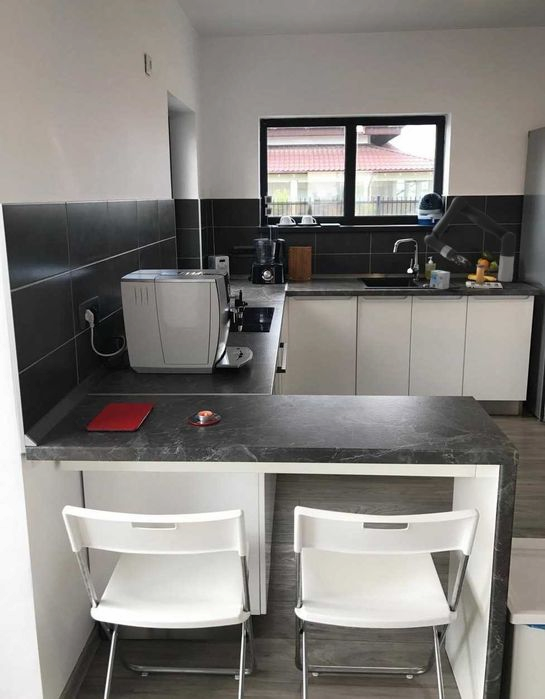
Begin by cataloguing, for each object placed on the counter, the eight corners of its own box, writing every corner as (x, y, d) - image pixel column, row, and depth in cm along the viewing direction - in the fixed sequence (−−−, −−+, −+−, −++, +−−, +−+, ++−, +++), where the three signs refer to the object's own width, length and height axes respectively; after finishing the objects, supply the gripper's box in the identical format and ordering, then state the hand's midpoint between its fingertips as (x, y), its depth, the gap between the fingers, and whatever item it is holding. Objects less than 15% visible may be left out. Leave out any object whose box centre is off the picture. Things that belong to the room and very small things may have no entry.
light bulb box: (429, 287, 447) (430, 270, 444) (436, 285, 451) (437, 269, 448) (442, 289, 439) (443, 272, 436) (449, 288, 443) (450, 272, 440)
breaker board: (499, 285, 455) (500, 281, 455) (502, 289, 442) (502, 285, 442) (466, 283, 460) (466, 279, 459) (467, 287, 447) (467, 283, 446)
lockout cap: (483, 282, 455) (484, 264, 452) (483, 283, 450) (485, 265, 447) (475, 282, 456) (477, 264, 453) (476, 283, 451) (477, 265, 448)
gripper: (447, 249, 462) (466, 262, 455) (456, 247, 473) (475, 259, 466) (441, 258, 466) (461, 271, 459) (450, 256, 477) (469, 269, 470)
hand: (468, 265), depth 462 cm, fingers open, 8 cm apart
